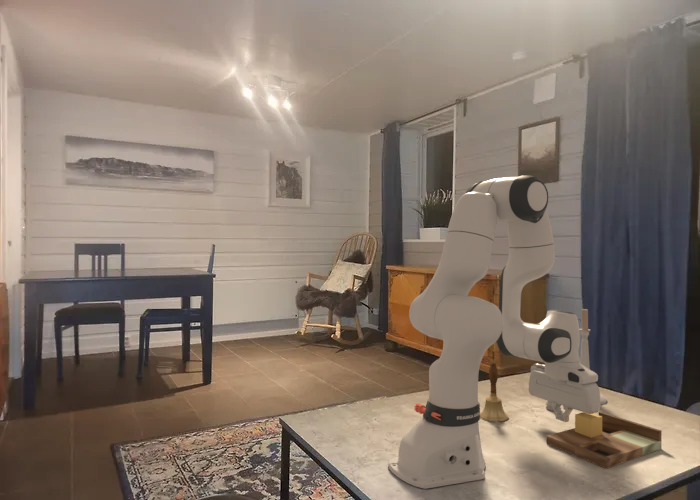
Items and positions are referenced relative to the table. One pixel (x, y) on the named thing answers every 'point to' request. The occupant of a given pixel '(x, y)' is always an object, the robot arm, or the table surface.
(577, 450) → the box
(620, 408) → the table surface
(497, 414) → the hand bell
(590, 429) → the block
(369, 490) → the table surface
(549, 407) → the rook chess piece
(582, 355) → the candlestick
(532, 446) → the table surface
